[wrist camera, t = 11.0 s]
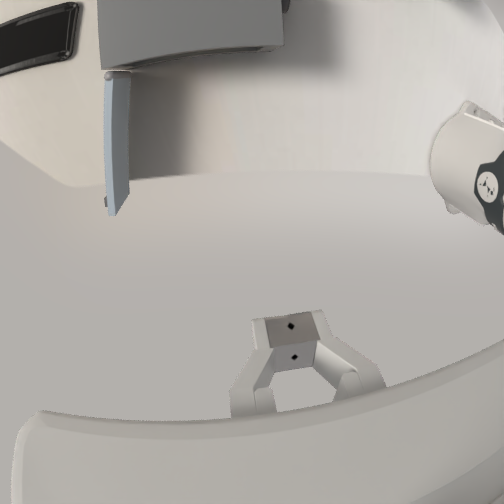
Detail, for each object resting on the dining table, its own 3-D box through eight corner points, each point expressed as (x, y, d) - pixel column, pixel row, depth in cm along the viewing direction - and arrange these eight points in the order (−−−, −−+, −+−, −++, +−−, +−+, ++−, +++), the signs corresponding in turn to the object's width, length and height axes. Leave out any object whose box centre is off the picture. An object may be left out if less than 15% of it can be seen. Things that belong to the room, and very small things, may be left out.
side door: (130, 193, 33) (116, 215, 28) (115, 193, 33) (100, 215, 28) (132, 70, 25) (114, 70, 20) (116, 71, 25) (95, 72, 20)
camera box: (276, -22, 21) (291, -43, 15) (280, 51, 26) (297, 45, 21) (119, -3, 20) (97, -19, 14) (123, 69, 25) (101, 69, 19)
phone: (69, 59, 22) (-18, 81, 20) (73, 59, 23) (-13, 80, 21) (77, -1, 18) (-12, 28, 16) (81, 0, 19) (-8, 28, 16)
